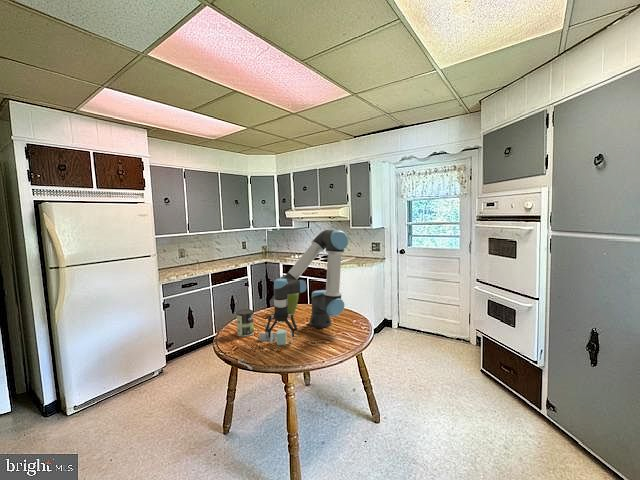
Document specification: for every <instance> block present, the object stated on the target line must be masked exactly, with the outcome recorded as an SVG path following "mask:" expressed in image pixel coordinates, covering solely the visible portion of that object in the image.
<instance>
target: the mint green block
mask: <svg viewBox="0 0 640 480" xmlns="http://www.w3.org/2000/svg"><path fill="white" fill-rule="evenodd" d="M276 333H277V336H276V346H280V345H281V346H283V345H285V346H286V345H287V330H286V329H278V330H277V331H276Z"/></svg>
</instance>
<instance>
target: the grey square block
mask: <svg viewBox="0 0 640 480" xmlns="http://www.w3.org/2000/svg"><path fill="white" fill-rule="evenodd" d="M267 324H268V323H266V324H265V325H264V330H266V327H267ZM270 327H271V323H270V324H269V327H268V329H270ZM275 341H277V332H272V342H275ZM257 342H271V339H270V338H269V333H268V332H266V331H265V333H264V332H263V333H262V332H261V333H260V334H259V338H258V341H257Z"/></svg>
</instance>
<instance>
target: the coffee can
mask: <svg viewBox="0 0 640 480" xmlns="http://www.w3.org/2000/svg"><path fill="white" fill-rule="evenodd" d="M235 314H236V333H237V336H238V337H250V336H252V335H253V334H254V333H255V331H254V310H252V309H249V308H247V309H240V310H237V311H236V313H235Z"/></svg>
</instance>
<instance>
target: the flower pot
mask: <svg viewBox="0 0 640 480" xmlns="http://www.w3.org/2000/svg"><path fill="white" fill-rule="evenodd" d="M299 296H300V293H296V294H289V295H287V308H288V314H293V315H294V314H295V312H296V309H297V306H298V302H299Z"/></svg>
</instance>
